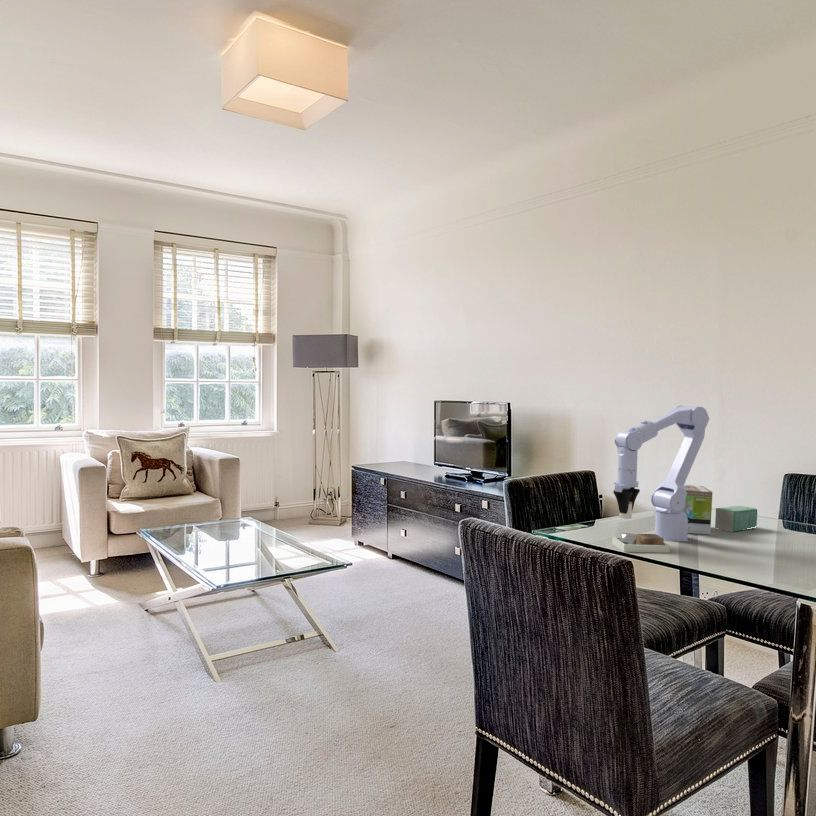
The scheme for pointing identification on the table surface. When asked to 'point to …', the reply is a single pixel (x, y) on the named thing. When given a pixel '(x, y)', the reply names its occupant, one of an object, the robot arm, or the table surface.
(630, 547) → the white tray
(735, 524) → the box
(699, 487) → the tea box
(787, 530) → the table surface
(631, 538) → the tin
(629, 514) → the jar
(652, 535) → the block
